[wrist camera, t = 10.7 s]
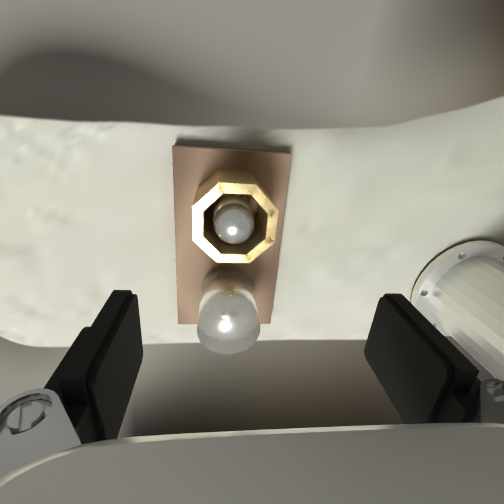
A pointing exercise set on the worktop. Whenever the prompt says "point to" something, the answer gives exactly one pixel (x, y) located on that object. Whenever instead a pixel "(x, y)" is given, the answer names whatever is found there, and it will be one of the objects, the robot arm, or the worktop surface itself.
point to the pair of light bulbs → (229, 285)
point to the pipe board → (187, 251)
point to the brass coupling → (263, 220)
